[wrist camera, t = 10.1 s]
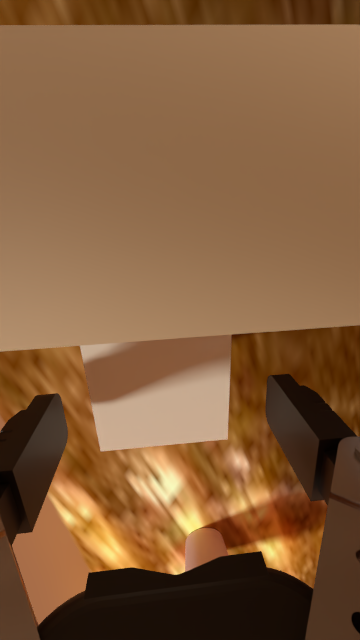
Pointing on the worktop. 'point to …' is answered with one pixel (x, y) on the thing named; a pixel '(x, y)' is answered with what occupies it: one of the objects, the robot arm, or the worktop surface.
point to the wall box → (159, 391)
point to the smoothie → (203, 547)
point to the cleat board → (177, 181)
